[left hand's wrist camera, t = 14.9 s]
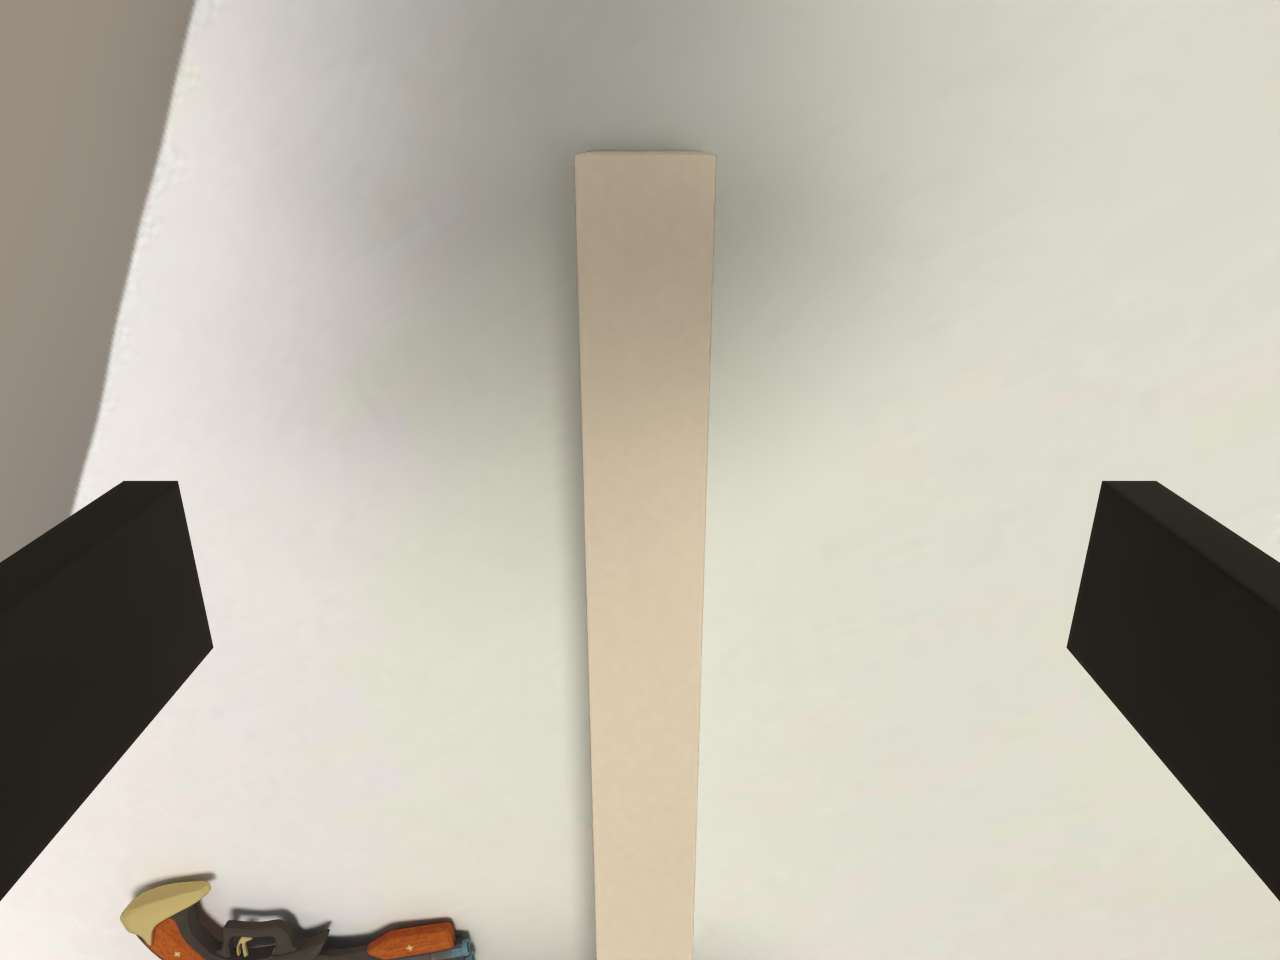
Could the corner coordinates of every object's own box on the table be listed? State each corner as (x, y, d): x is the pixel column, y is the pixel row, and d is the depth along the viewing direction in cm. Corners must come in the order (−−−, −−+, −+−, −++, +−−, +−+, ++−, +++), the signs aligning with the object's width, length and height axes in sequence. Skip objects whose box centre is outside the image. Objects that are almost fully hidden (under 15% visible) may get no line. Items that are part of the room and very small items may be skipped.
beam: (587, 151, 36) (573, 154, 29) (701, 151, 36) (716, 154, 29) (606, 1010, 55) (601, 1141, 47) (681, 1010, 55) (687, 1141, 47)
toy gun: (104, 916, 48) (157, 1056, 50) (439, 858, 48) (476, 1001, 51) (129, 882, 51) (179, 1017, 53) (447, 827, 51) (482, 964, 53)
